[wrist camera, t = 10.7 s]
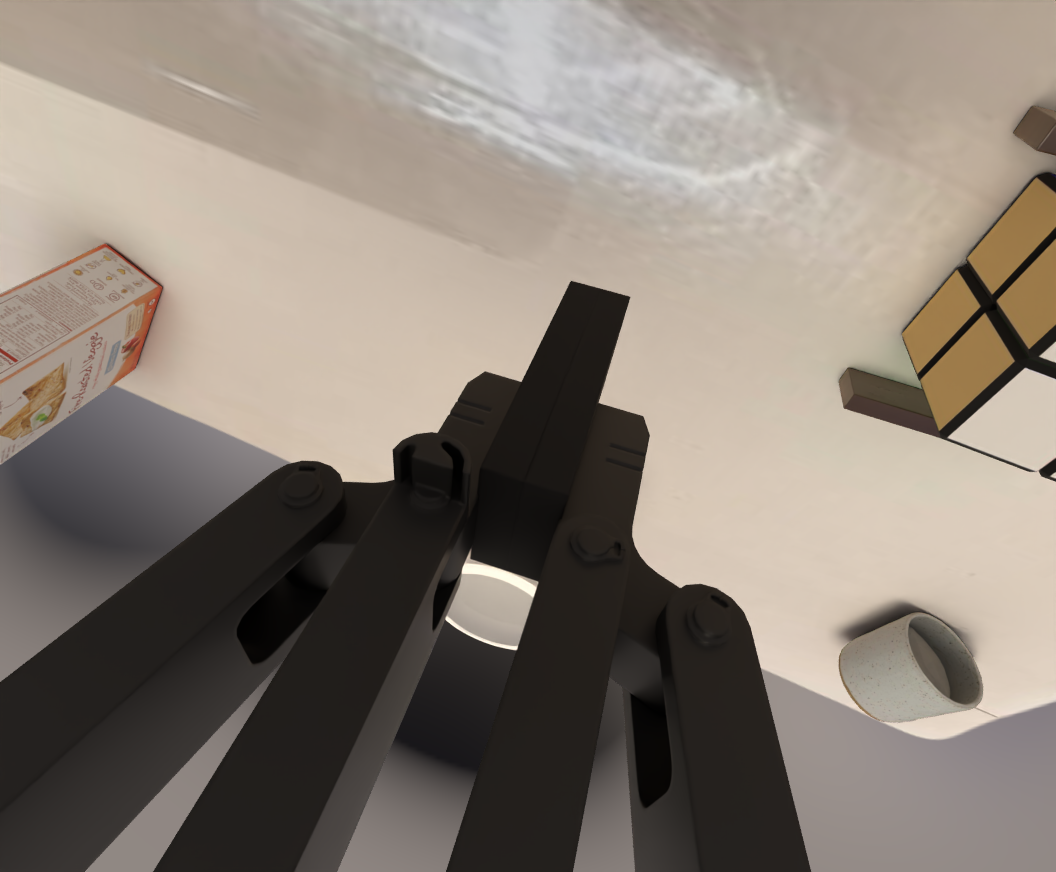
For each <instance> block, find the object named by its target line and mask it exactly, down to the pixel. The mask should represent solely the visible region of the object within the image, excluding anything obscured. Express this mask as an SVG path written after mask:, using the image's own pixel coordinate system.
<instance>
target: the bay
mask: <svg viewBox="0 0 1056 872" xmlns="http://www.w3.org/2000/svg"><path fill="white" fill-rule="evenodd" d="M1013 134H1015V135H1016V136H1017V137H1019V138H1020V139H1021V140H1023V141H1024V142H1025V143H1027V144H1028V145H1030V146H1031V147H1032V148H1034V149H1035V150H1036V151H1040V152H1044V153H1048V154H1052V155H1056V111H1053V110H1049V109H1045V108H1041V107H1037V106H1032V107H1031V109H1030V110H1029V111H1028V113H1027V114H1026V116H1025V117H1024V119H1023V120H1022V121H1021V123H1020V124H1019V126H1018V127H1017V128H1016V130H1015V131H1014V133H1013ZM839 386H840V392H841V397H842V402H843V407H844V409H848V410H851V411H854V412H857V413H861V414H864V415H867V416H870V417H874V418H877V419H880V420H883V421H887V422H890V423H893V424H896V425H900V426H903V427H906V428H910V429H913V430H916V431H919V432H923V433H926V434H929V435H932V436H936V437H939V438H940V435H939V432H938V430H937V427H936V424H935V422H934V419H933V416H932V414H931V411H930V408H929V405H928V403H927V400H926V397H925V395H924V392H923V390H921V389H918V388H915V387H911V386H908V385H905V384H901V383H898V382H895V381H891V380H888V379H885V378H881V377H878V376H874V375H871V374H868V373H864V372H861V371H858V370H854V369H851V368H848V369H847V370H846V372H845V373H844V374H843V376H842V377H841V379H840V380H839Z"/></svg>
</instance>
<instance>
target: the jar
mask: <svg viewBox="0 0 1056 872" xmlns="http://www.w3.org/2000/svg"><path fill="white" fill-rule="evenodd" d="M470 554H471V550H470V552H469V554H468V557H467V559H466V561H465V563H464V566H463V568H462V576H461V581H460V586H459V588H458V590H457V593H456V595H455V597H454V600H453V602H452V604H451V607H450V609H449V611H448V614H447V616H446V618H445V620H447V621H448V622H449V623H450V624H452V625H453V626H454V627H456V628H457V629H459V630H460V631H462V632H464V633H466V634H467V635H469V636H471V637H474V638H476V639H478V640H480V641H483V642H485V643H488V644H491V645H495V646H498V647H502V648H507V649H513V650H517V648H518V645H519V641H520V638H521V635H522V632H523V629H524V626H525V623H526V620H527V616H528V613H529V610H530V607H531V604H532V601H533V598H534V594H535V591H536V588H537V585H538V581H535V580H532V579H529V578H526V577H523V576H520V575H517V574H514V573H511V572H508V571H505V570H502V569H499V568H496V567H493V566H490V565H487V564H484V563H481V562H478V561H475V560H472V559H470Z"/></svg>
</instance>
